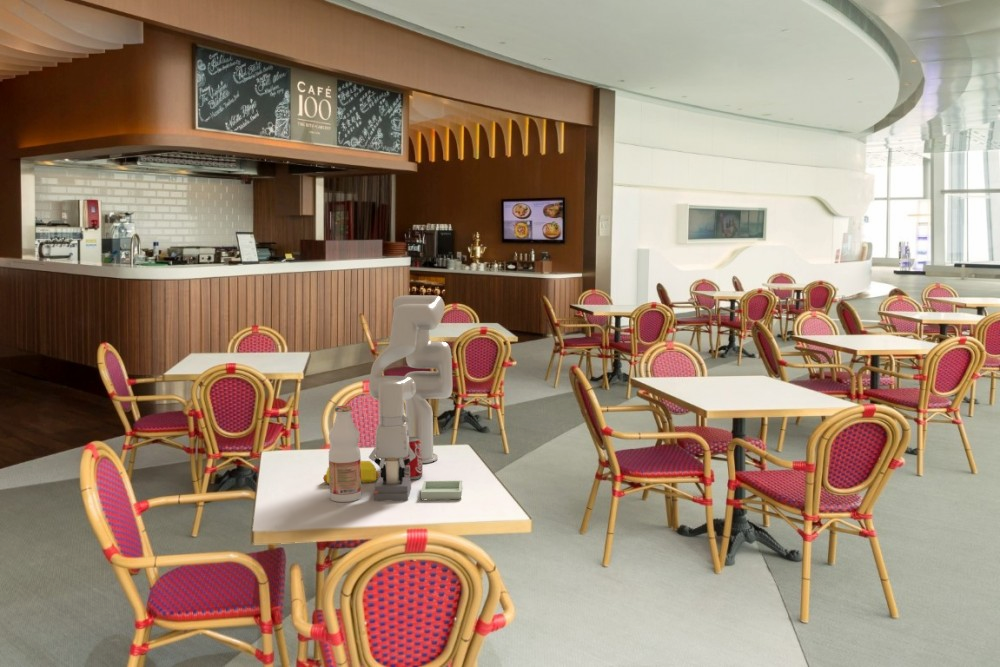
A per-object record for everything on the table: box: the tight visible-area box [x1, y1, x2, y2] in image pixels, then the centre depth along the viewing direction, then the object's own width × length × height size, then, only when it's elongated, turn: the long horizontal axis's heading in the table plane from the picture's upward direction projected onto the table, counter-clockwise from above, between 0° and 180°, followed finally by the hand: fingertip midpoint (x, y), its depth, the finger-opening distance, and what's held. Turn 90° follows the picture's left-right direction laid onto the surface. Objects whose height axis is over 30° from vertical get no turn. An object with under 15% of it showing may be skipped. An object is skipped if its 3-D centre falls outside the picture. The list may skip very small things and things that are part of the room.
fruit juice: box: [328, 405, 362, 503], centre depth 254 cm, size 9×9×28 cm
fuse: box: [385, 458, 400, 485], centre depth 258 cm, size 4×4×10 cm
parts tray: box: [420, 480, 463, 501], centre depth 259 cm, size 12×12×2 cm
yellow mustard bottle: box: [322, 460, 380, 484], centre depth 273 cm, size 18×7×8 cm
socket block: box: [373, 477, 412, 501], centre depth 259 cm, size 12×10×4 cm
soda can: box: [404, 437, 423, 480], centre depth 277 cm, size 7×7×13 cm
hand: (392, 479), depth 259 cm, fingers closed on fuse, 4 cm apart
